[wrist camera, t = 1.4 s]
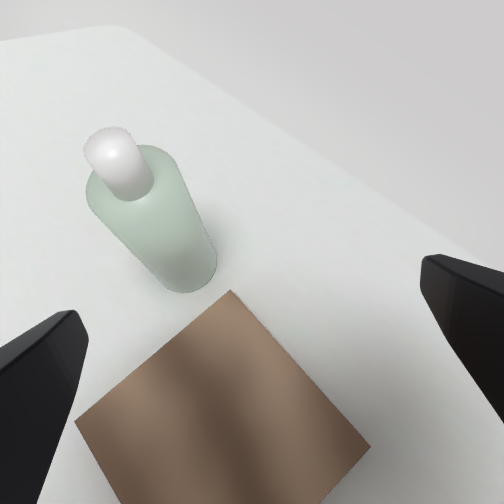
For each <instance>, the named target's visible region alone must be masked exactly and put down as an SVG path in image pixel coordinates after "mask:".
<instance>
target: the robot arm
mask: <svg viewBox="0 0 504 504" xmlns="http://www.w3.org/2000/svg"><path fill="white" fill-rule="evenodd" d="M420 289H421V292H422V295H423V296H424V298H425V300H426V302H427V304H428V306H429V308H430V310H431V312H432V313H433V315H434V317H435V319H436V321H437V323H438V325H439V327H440V329H441V330H442V332H443V334H444V336H445V338H446V339H447V341H448V343H449V344H450V346H451V347H452V349H453V350H454V352H455V353H456V355H457V356H458V358H459V359H460V360H461V362H462V363H463V365H464V366H465V368H466V369H467V371H468V372H469V374H470V375H471V376H472V378H473V379H474V381H475V382H476V384H477V385H478V387H479V388H480V390H481V391H482V392H483V394H484V395H485V397H486V398H487V400H488V401H489V403H490V404H491V405H492V407H493V408H494V410H495V411H496V413H497V414H498V416H499V417H500V419H501V420H502V421H503V423H504V272H500V271H497V270H493V269H490V268H487V267H483V266H480V265H476V264H473V263H470V262H466V261H463V260H459V259H456V258H453V257H449V256H446V255H442V254H436V255H430V256H425V257H424V258H423V260H422V264H421V276H420ZM88 341H89V339H88V334H87V331H86V329H85V327H84V325H83V323H82V320H81V318H80V316H79V314H78V313H77V311H75V310H67V311H60V312H57V313H55V314H54V315H52V316H51V317H49V318H47V319H46V320H44V321H43V322H41V323H39V324H38V325H36V326H35V327H33V328H31V329H30V330H28V331H26V332H25V333H23V334H22V335H20V336H18V337H17V338H15V339H14V340H12V341H10V342H9V343H7V344H5V345H4V346H2V347H1V348H0V504H37V501H38V498H39V495H40V493H41V490H42V487H43V484H44V482H45V479H46V476H47V473H48V471H49V468H50V465H51V462H52V460H53V457H54V454H55V451H56V448H57V446H58V443H59V440H60V437H61V435H62V432H63V429H64V426H65V424H66V421H67V418H68V415H69V413H70V410H71V407H72V404H73V401H74V398H75V395H76V391H77V388H78V384H79V380H80V376H81V372H82V368H83V363H84V359H85V355H86V351H87V347H88Z"/></svg>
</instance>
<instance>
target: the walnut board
mask: <svg viewBox="0 0 504 504" xmlns="http://www.w3.org/2000/svg"><path fill="white" fill-rule="evenodd" d="M74 422H75V424H76V426H77V427H78V429H79V431H80V433H81V434H82V436H83V438H84V440H85V441H86V443H87V445H88V447H89V448H90V450H91V452H92V454H93V455H94V457H95V459H96V461H97V462H98V464H99V466H100V468H101V469H102V471H103V473H104V475H105V476H106V478H107V480H108V482H109V483H110V485H111V487H112V489H113V491H114V492H115V494H116V496H117V498H118V499H119V501H120V503H121V504H319V503H320V502H321V500H322V499H323V498H324V497H325V496H326V495H327V494H328V493H329V492H330V491H331V490H332V489H333V487H334V486H335V485H336V484H337V483H338V482H339V481H340V480H341V479H342V478H343V477H344V476H345V474H346V473H347V472H348V471H349V470H350V469H351V468H352V467H353V466H354V465H355V464H356V463H357V461H358V460H359V459H360V458H361V457H362V456H363V455H364V454H365V453H366V452H367V451H368V450H369V448H370V447H371V446H370V445H369V444H368V443H367V442H366V441H365V439H364V438H363V437H362V436H361V435H360V434H359V433H358V432H357V430H356V429H355V428H354V427H353V426H352V425H351V424H350V423H349V422H348V420H347V419H346V418H345V417H344V416H343V415H342V414H341V413H340V411H339V410H338V409H337V408H336V407H335V406H334V405H333V404H332V403H331V401H330V400H329V399H328V398H327V397H326V396H325V395H324V394H323V392H322V391H321V390H320V389H319V388H318V387H317V386H316V385H315V383H314V382H313V381H312V380H311V379H310V378H309V377H308V376H307V375H306V373H305V372H304V371H303V370H302V369H301V368H300V367H299V366H298V364H297V363H296V362H295V361H294V360H293V359H292V358H291V357H290V356H289V354H288V353H287V352H286V351H285V350H284V349H283V348H282V347H281V345H280V344H279V343H278V342H277V341H276V340H275V339H274V338H273V337H272V335H271V334H270V333H269V332H268V331H267V330H266V329H265V328H264V326H263V325H262V324H261V323H260V322H259V321H258V320H257V319H256V317H255V316H254V315H253V314H252V313H251V312H250V311H249V310H248V309H247V307H246V306H245V305H244V304H243V303H242V302H241V301H240V300H239V298H238V297H237V296H236V295H235V294H234V293H233V292H232V291H231V290H229V291H228V292H227V293H226V294H224V295H223V296H222V297H221V298H220V299H219V300H217V301H216V302H215V303H214V304H213V305H211V306H210V307H209V308H208V309H207V310H205V311H204V312H203V313H202V314H201V315H200V316H198V317H197V318H196V319H195V320H194V321H192V322H191V323H190V324H189V325H188V326H187V327H185V328H184V329H183V330H182V331H181V332H179V333H178V334H177V335H176V336H175V337H174V338H172V339H171V340H170V341H169V342H168V343H166V344H165V345H164V346H163V347H162V348H161V349H159V350H158V351H157V352H156V353H155V354H153V355H152V356H151V357H150V358H149V359H147V360H146V361H145V362H144V363H143V364H142V365H140V366H139V367H138V368H137V369H136V370H134V371H133V372H132V373H131V374H130V375H129V376H127V377H126V378H125V379H124V380H123V381H121V382H120V383H119V384H118V385H117V386H116V387H114V388H113V389H112V390H111V391H110V392H108V393H107V394H106V395H105V396H104V397H103V398H101V399H100V400H99V401H98V402H97V403H95V404H94V405H93V406H92V407H91V408H89V409H88V410H87V411H86V412H85V413H84V414H82V415H81V416H80V417H79V418H78V419H76V420H75V421H74Z"/></svg>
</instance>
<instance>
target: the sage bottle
mask: <svg viewBox="0 0 504 504" xmlns="http://www.w3.org/2000/svg"><path fill="white" fill-rule="evenodd" d="M83 152H84V157H85V159H86V160H87V162H88V163H89V164H90V166H91V167H92V168H93V169H94V170H93V171H92V173H91V175H90V177H89V179H88V182H87V186H86V199H87V203H88V205H89V207H90V209H91V210H92V212H93V213H94V214H95V215H96V216H97V217H98V218H99V219H100V220H101V221H102V222H103V223H104V224H105V225H106V226H107V227H108V228H109V229H110V230H111V232H112V233H113V234H114V235H115V236H116V237H117V238H118V239H119V240H120V241H121V242H122V243H123V244H124V245H125V246H126V247H127V248H128V249H129V250H130V251H131V252H132V253H133V254H134V255H135V256H136V257H137V258H138V259H139V260H140V261H141V262H142V263H143V264H144V265H145V266H146V267H147V268H148V269H149V271H150V272H151V273H152V274H153V275H154V276H155V277H156V278H157V279H158V280H159V281H160V282H161V283H162V284H163V285H164V286H165V287H167V288H168V289H170V290H172V291H174V292H179V293H188V292H192V291H195V290H198V289H200V288H202V287H203V286H204V285H206V284H207V283H208V282H209V280H210V279H211V278H212V276H213V274H214V272H215V270H216V265H217V257H216V253H215V251H214V248H213V246H212V244H211V242H210V239H209V237H208V235H207V232H206V230H205V228H204V226H203V223H202V221H201V219H200V216H199V214H198V212H197V210H196V207H195V205H194V203H193V200H192V198H191V196H190V193H189V191H188V189H187V187H186V184H185V182H184V180H183V177H182V175H181V173H180V171H179V168H178V166H177V164H176V162H175V160H174V159H173V158H172V157H171V156H170V155H169V154H168V153H167V152H165V151H164V150H162V149H160V148H157V147H154V146H149V145H136V143H135V141H134V140H133V138H132V136H131V134H130V133H129V132H128V131H127V130H125V129H123V128H120V127H108V128H104V129H101V130H99V131H97V132H96V133H94V134H93V135H92V136H91V137H90V138H89V139H88V140H87V142H86V143H85V146H84V151H83Z"/></svg>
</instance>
